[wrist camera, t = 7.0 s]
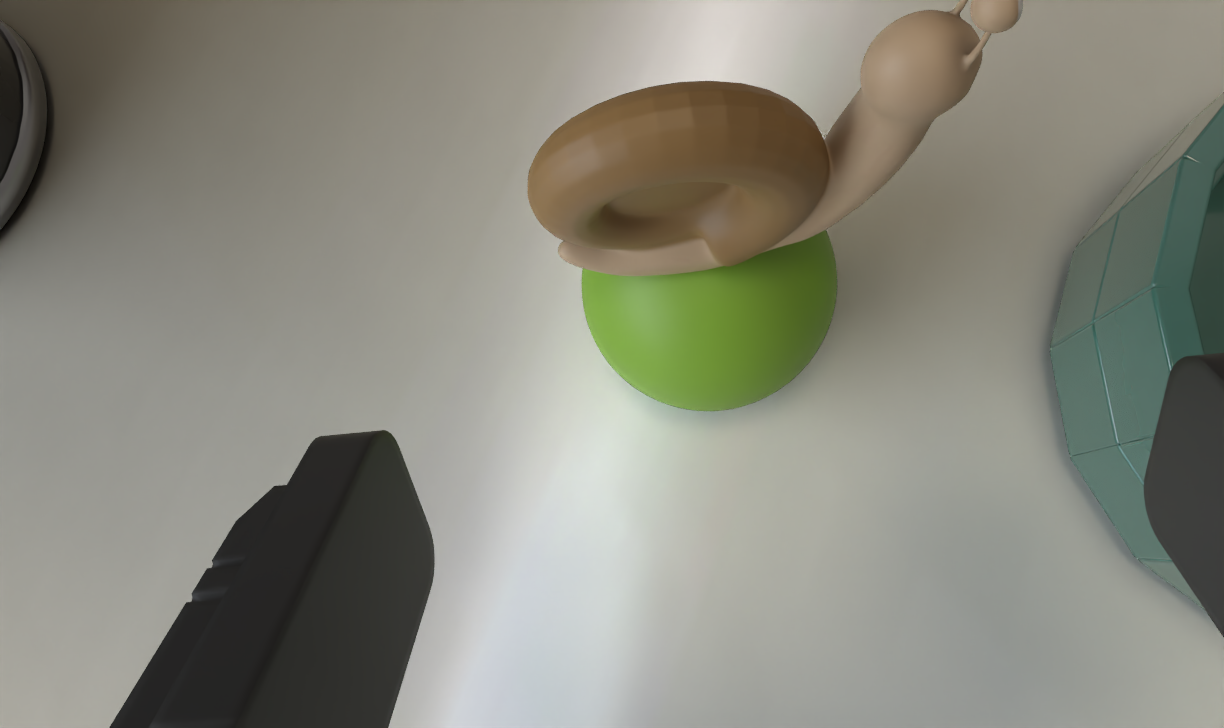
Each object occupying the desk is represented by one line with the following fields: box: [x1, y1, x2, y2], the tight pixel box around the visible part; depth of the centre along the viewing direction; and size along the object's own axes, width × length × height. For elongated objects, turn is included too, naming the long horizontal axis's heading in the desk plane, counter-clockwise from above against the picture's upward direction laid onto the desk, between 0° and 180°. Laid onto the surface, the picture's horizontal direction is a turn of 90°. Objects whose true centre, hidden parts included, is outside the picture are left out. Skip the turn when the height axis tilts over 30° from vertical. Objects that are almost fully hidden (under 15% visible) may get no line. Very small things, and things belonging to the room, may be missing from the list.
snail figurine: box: [528, 0, 1023, 411], centre depth 15 cm, size 5×6×12 cm
